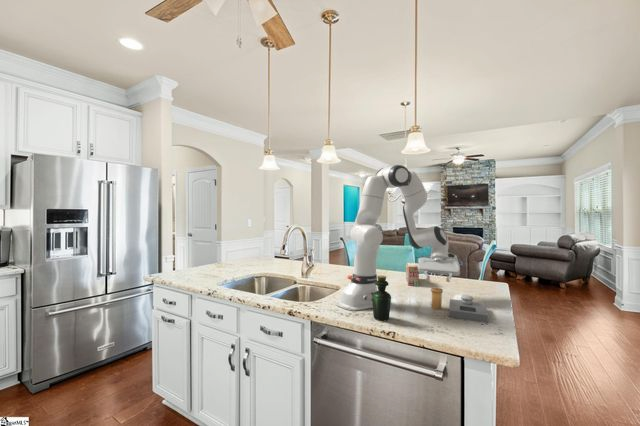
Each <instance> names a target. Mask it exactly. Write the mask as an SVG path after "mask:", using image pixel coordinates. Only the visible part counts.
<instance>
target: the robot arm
mask: <svg viewBox="0 0 640 426" xmlns="http://www.w3.org/2000/svg"><path fill="white" fill-rule="evenodd" d="M387 188H389V189H394V188H399V190H401V193H402V196H403V198H404V205H403V206H402V214H403V218H404V221H405V222H404V223H405V227H406V230H407V236H408V243H409V245H410V247H413V248H414V249H416V250H419V249H423V248H427V247H430V248H431V250H430V256H420V257H418V258H417V262H418V263H417V264H418V271H419V273H423V274H424V275H425V279H426V280H427V281H429V280H430V279H431V278H430V276H431V275H430V274H435V275H445V276H447V277H446V282H447V283H451V279H452V278H453V276H455V277H458V276H460V275H461V266H460V263H459V260H458V255H456V254H454V253H450V252H449V246H450V244H449V243H450V242H449V237H448V234H447V233H446V231H445V230H444V229H442V228H441V227H440V226H437V225H436V226H430V227H426V228H422V229H417V226H416V222H415V217H414V214H415V213H416V212H418V211H419V210H420V209H421V208H422V207H424V205H425V204H426V202H427V200H428V194H427V191H426V189H425V186H424V184H423V181H421V178H420V176H418V174H417V173H416V172H415V171H412V170H409V169H408V168H407V167H406V166H404V165H401V164H396V165H389V166H386V167H382V168H380V169H379V170H378V171H377V172H376V173H375V174H373V175H370V176H368V177H367V178H366V180H365V183H364V185H363V188H362V193H361V197H360V203H359V208H358V211H357V215H356V217H355V220H354V222H353V225H352V227H351V229H350V233H349V235H350V238H351V240H352V241H353V243H355V244H356V245H357V248H356V252H355V256H354V257H353V274H352V275H350V274H348V275H347V277H346V278H347V280H350V282H349V283H348V284H347V285H346V286H345V288H343V289H342V290H341V291H340V296H339V299H338V300H336V301H334V304H335V305H336V306H337V307H340V308H341V309H344V310H349V311H362V310H367V309H373V303H372V294H373V293H374V292H376V291H378V287H377V285H375V282H376V281H378V277H377V276H378V275H377V259H378V254H379V253H378V252H379V250H380V249H379V248H380V245H381V244H382V242H383V238H384V235H383V233H382V231H381V230H380V228H378V227H377V226H376V224H377V221H378V220H379V218H380V216H381V214H382V209H383V204H384V198H385V192H386V190H387ZM428 274H429V275H428Z"/></svg>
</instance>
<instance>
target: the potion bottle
mask: <svg viewBox="0 0 640 426" xmlns="http://www.w3.org/2000/svg"><path fill="white" fill-rule="evenodd" d="M375 285H376V286H377V291H376V292H374V293H373V294H372V303H373V308H372V312H373V313H372V315H373V316H372V317H373V318H375V320H376V321H380V320H381V321H380V322H382V321H383V322H384V320H386V321H388V320H389V319H390V313H391V302H392V296H391V295H392V294H391V293H389V292H388V291H386V288H387V287H388V286H389V285H390V284H389V281H387V276H386V275H377V281H376V282H375Z"/></svg>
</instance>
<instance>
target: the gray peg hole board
mask: <svg viewBox="0 0 640 426" xmlns="http://www.w3.org/2000/svg"><path fill="white" fill-rule="evenodd" d="M460 298H461V299H454V298H453V299H452V298H450V299H449V307H448V317H449V318H453V319H461V320H467V321H474V322H482V323H489V313H488V309H487V307H486V304H485V303H483V302H477V301H474V297H473V296H471V295H468V294H467V295H464V294H463V295H461V297H460Z"/></svg>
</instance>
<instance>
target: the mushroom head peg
mask: <svg viewBox="0 0 640 426" xmlns="http://www.w3.org/2000/svg"><path fill="white" fill-rule="evenodd" d="M443 291H444V290H443V288H439V287H431V288H430V292H431V309H433V310H437V311H438V310H442V307H443V306H442V304H443V303H442V301H443V300H442V297H443V295H442V294H443V293H444V292H443Z"/></svg>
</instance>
